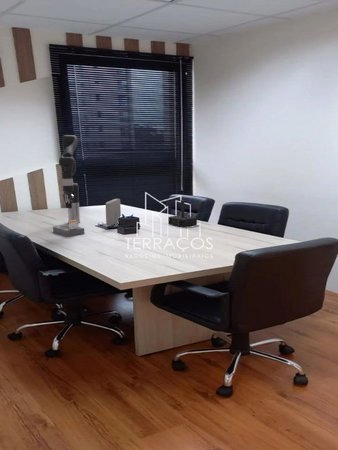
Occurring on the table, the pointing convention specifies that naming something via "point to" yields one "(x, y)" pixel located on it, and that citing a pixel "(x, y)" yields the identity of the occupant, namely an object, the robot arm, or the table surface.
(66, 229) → the switch panel
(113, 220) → the network device
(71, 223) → the lever
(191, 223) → the dark pedestal with post
